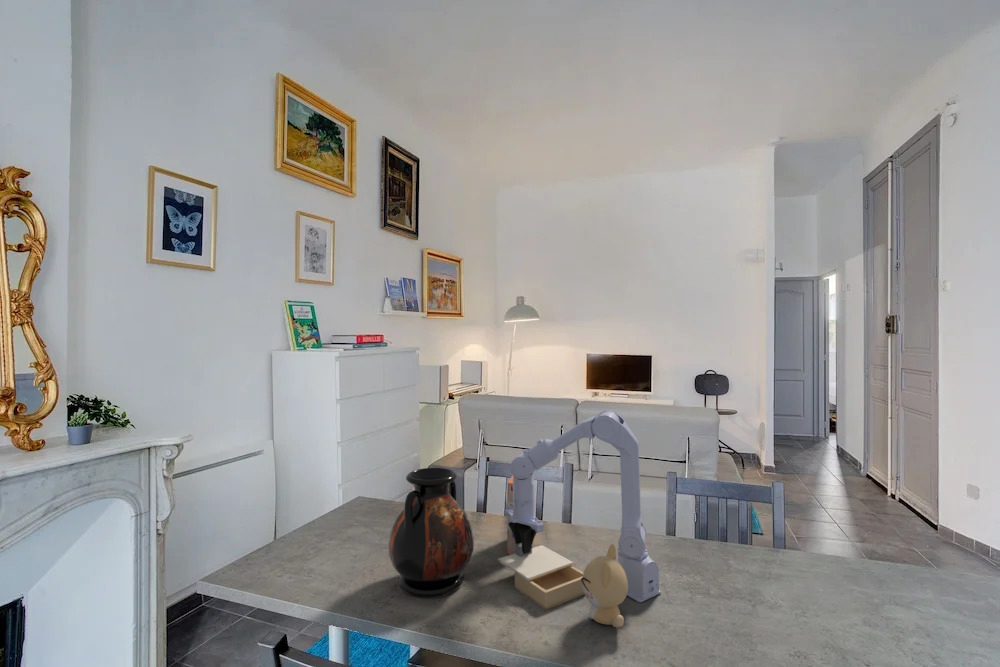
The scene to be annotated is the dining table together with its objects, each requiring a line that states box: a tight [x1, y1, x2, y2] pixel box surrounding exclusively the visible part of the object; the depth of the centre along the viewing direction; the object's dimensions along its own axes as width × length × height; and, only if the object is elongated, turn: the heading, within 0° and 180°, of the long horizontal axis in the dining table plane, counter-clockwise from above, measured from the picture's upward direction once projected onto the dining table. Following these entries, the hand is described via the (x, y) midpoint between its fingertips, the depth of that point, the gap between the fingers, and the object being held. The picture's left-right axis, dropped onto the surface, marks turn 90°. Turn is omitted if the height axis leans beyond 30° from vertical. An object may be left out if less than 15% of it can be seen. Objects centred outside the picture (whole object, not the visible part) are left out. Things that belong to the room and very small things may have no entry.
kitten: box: [581, 543, 628, 628], centre depth 108 cm, size 15×10×15 cm, turn 159°
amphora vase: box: [387, 467, 475, 599], centre depth 124 cm, size 22×22×28 cm
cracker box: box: [506, 475, 516, 556], centre depth 146 cm, size 14×6×21 cm, turn 168°
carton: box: [514, 565, 585, 611], centre depth 120 cm, size 12×14×4 cm
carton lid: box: [498, 542, 574, 581], centre depth 125 cm, size 13×15×3 cm
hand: (523, 550), depth 129 cm, fingers closed on carton lid, 2 cm apart
